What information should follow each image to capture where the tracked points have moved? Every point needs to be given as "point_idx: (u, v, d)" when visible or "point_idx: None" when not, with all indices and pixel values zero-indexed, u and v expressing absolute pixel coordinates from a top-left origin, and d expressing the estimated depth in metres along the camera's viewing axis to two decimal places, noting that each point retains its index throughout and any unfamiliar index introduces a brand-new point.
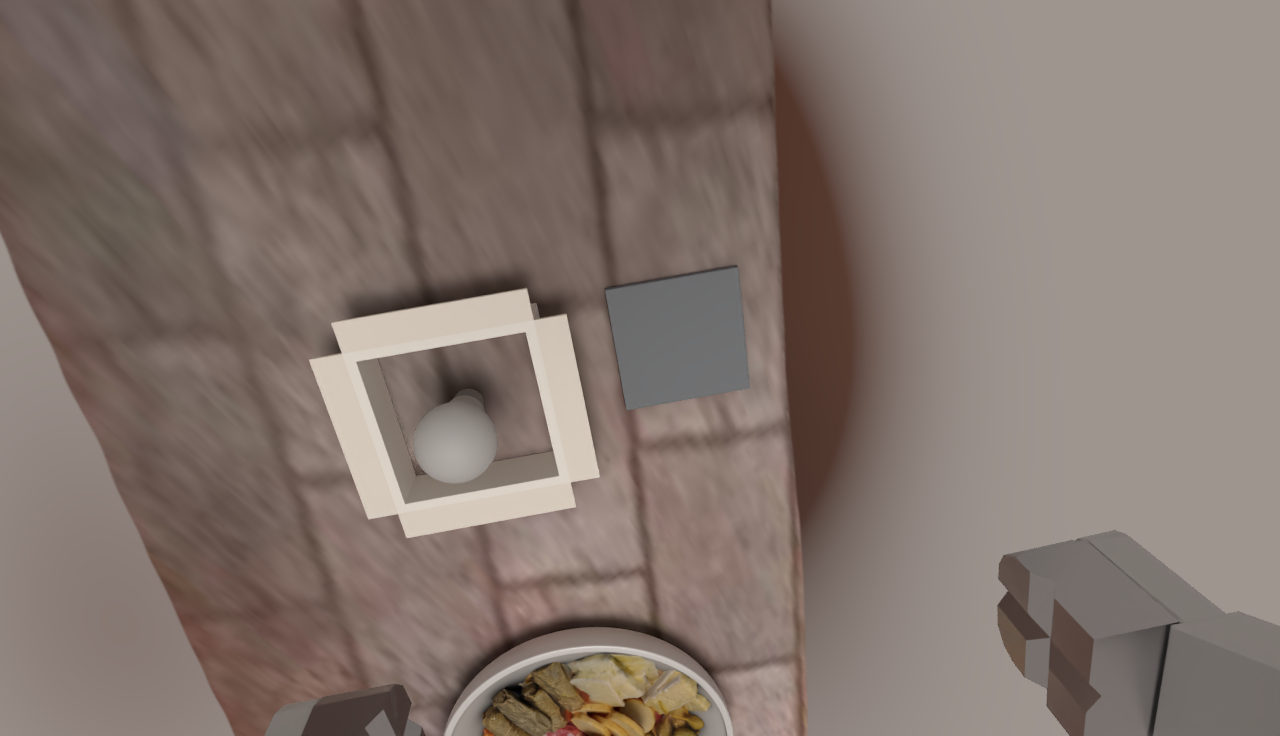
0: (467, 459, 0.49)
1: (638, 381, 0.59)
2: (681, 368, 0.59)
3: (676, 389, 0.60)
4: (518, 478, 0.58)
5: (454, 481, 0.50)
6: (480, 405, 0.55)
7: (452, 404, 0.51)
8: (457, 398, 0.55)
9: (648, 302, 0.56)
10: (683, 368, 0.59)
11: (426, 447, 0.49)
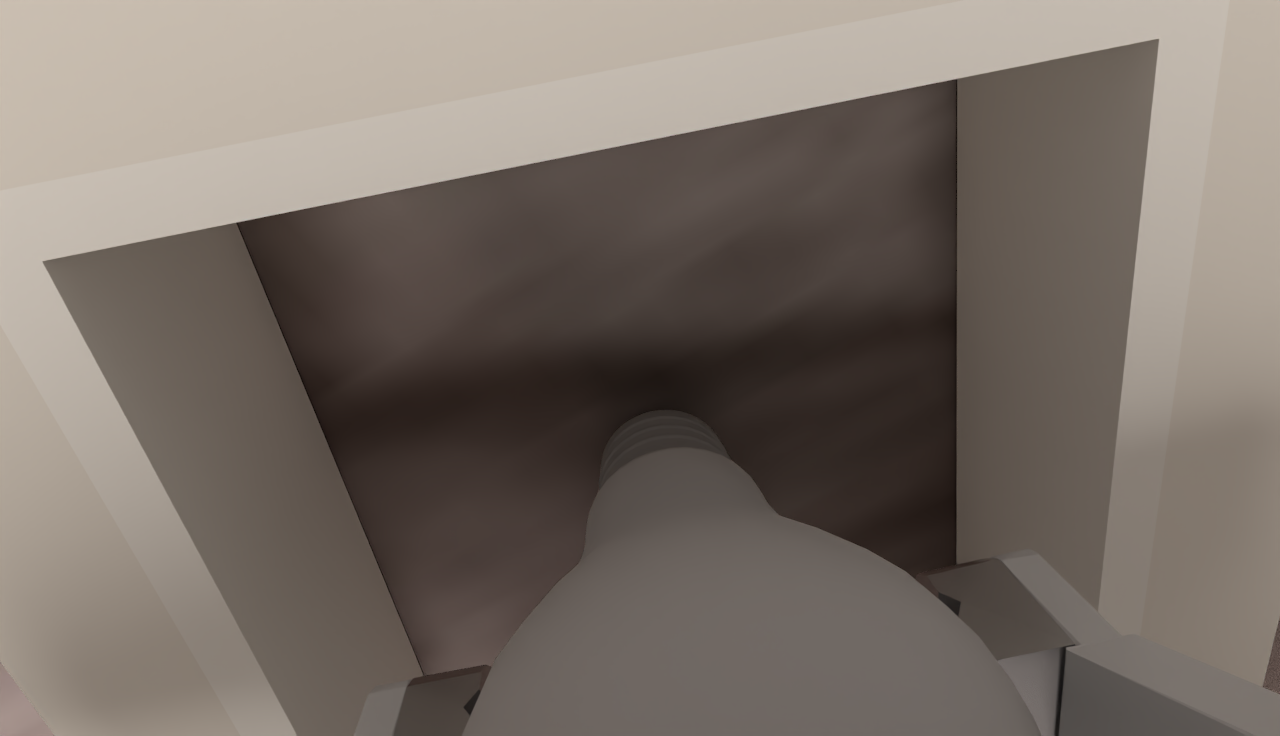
0: None
1: None
2: None
3: None
4: None
5: None
6: None
7: None
8: None
9: None
10: None
11: None
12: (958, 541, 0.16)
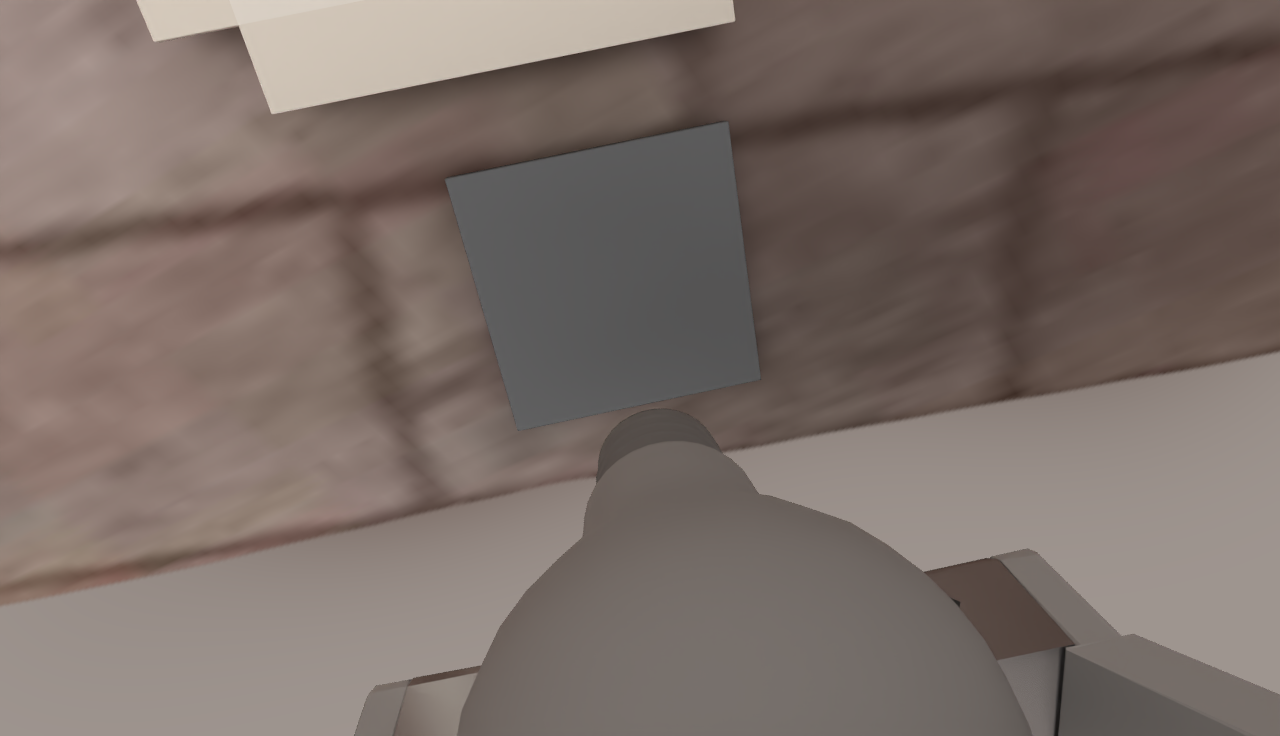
0: None
1: (519, 203, 0.27)
2: (554, 294, 0.28)
3: (504, 288, 0.28)
4: None
5: None
6: None
7: None
8: None
9: (699, 216, 0.27)
10: (554, 297, 0.28)
11: None
12: None
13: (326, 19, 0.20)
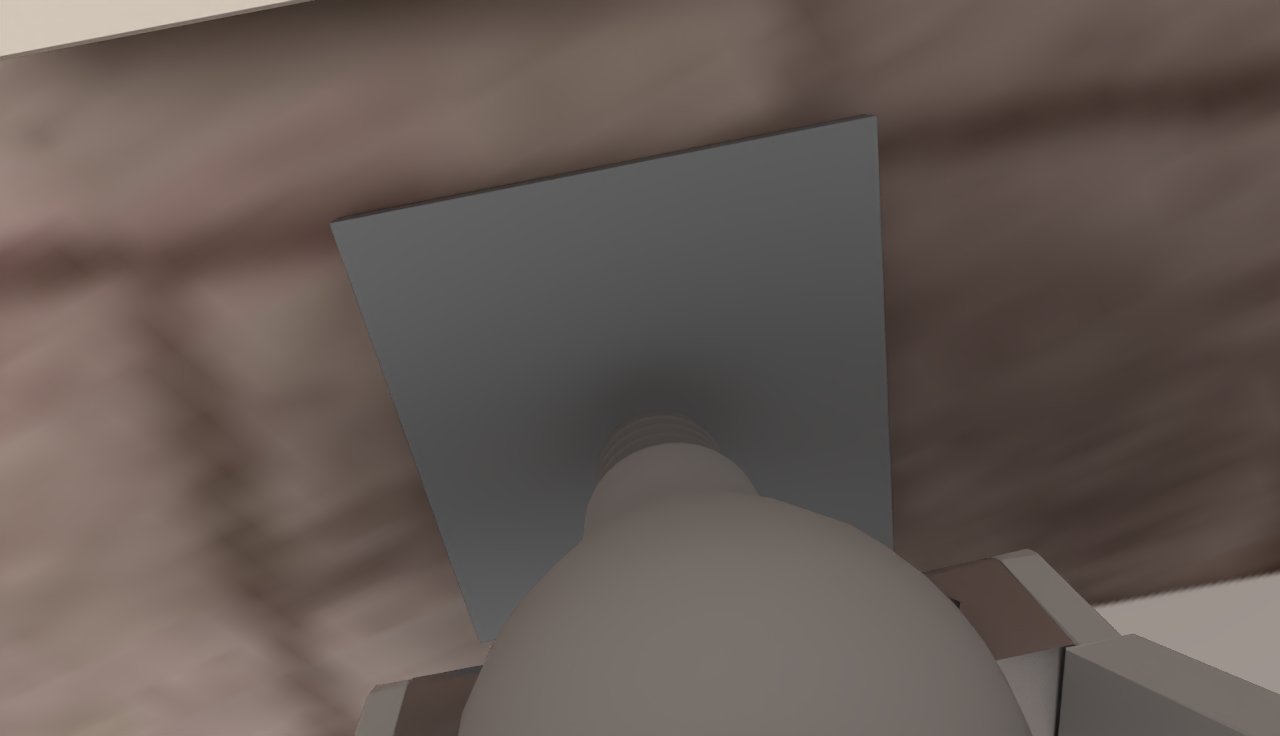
0: None
1: (475, 269, 0.14)
2: (542, 427, 0.16)
3: (450, 417, 0.15)
4: None
5: None
6: None
7: None
8: None
9: (809, 291, 0.15)
10: (542, 432, 0.16)
11: None
12: None
13: None
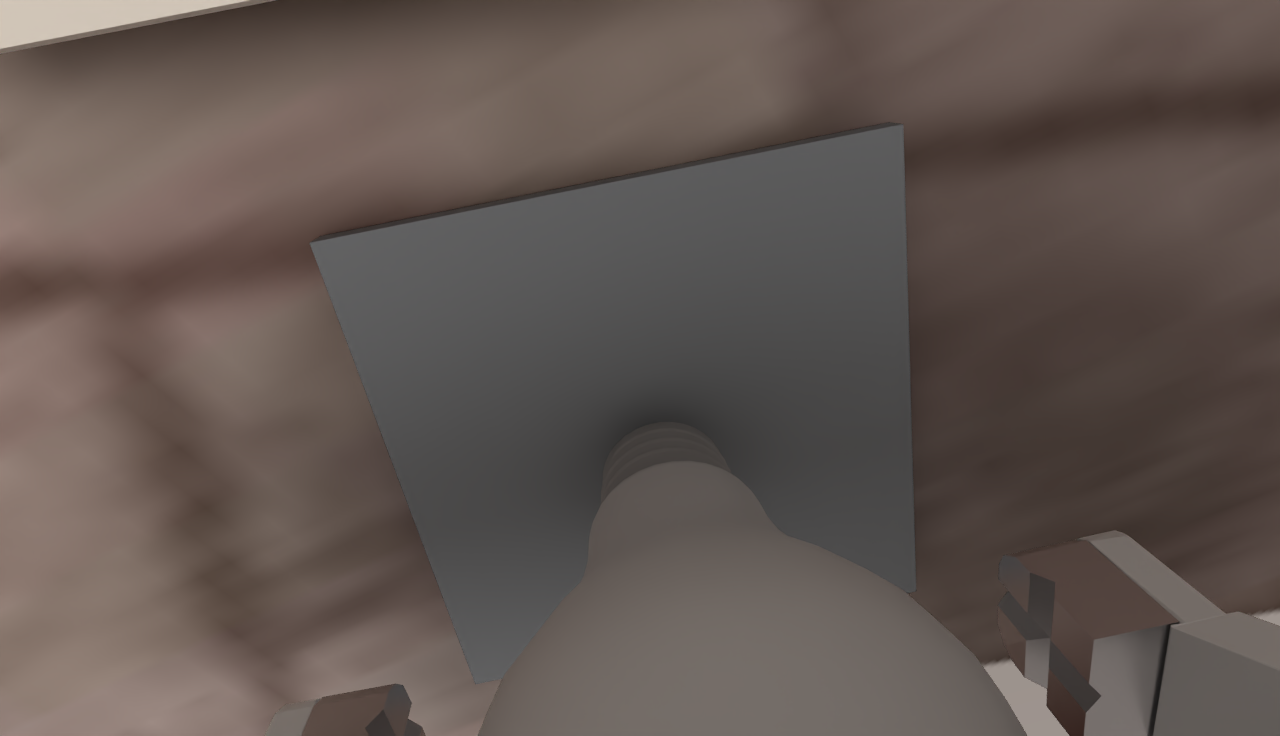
0: None
1: (468, 290, 0.13)
2: (541, 458, 0.14)
3: (442, 448, 0.14)
4: None
5: None
6: None
7: None
8: None
9: (829, 312, 0.14)
10: (541, 463, 0.15)
11: None
12: None
13: None
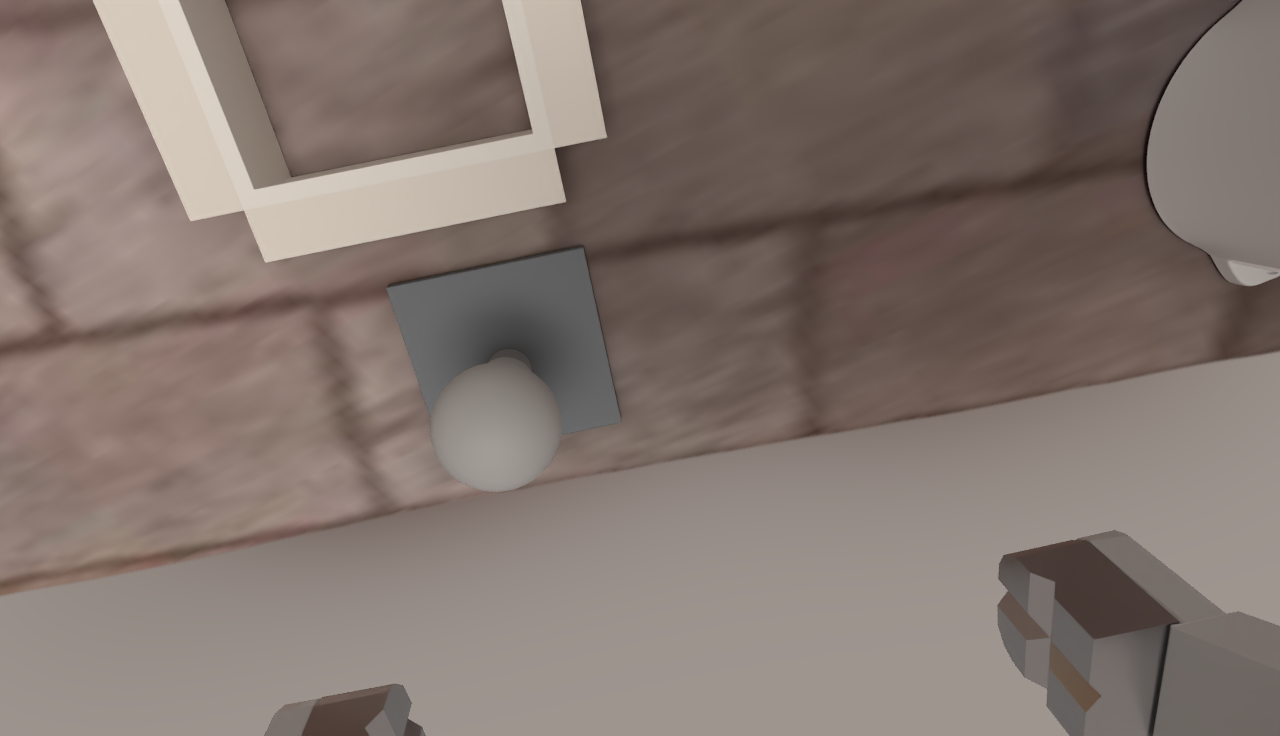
0: (495, 479, 0.30)
1: (439, 303, 0.38)
2: (466, 364, 0.40)
3: (430, 359, 0.39)
4: (230, 108, 0.31)
5: (446, 454, 0.30)
6: None
7: (560, 419, 0.33)
8: None
9: (567, 310, 0.39)
10: (467, 366, 0.40)
11: (510, 418, 0.30)
12: None
13: (299, 206, 0.32)
